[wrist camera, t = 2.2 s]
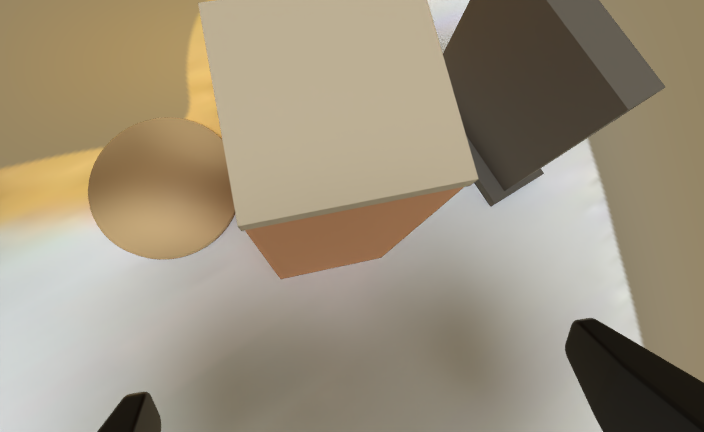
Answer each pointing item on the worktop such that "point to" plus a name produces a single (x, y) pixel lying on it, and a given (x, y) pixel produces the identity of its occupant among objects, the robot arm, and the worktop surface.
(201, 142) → the coaster
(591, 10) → the screen
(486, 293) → the worktop surface
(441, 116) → the tin
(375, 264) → the worktop surface
